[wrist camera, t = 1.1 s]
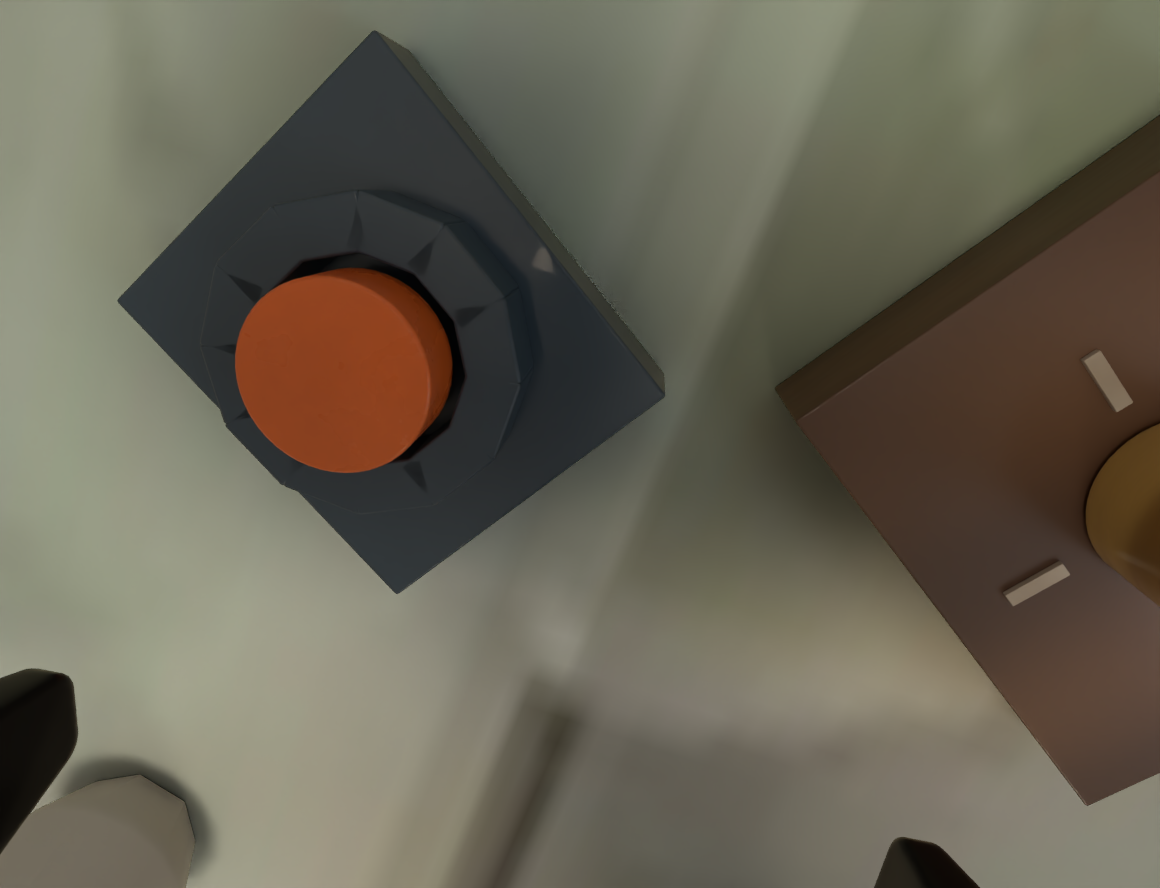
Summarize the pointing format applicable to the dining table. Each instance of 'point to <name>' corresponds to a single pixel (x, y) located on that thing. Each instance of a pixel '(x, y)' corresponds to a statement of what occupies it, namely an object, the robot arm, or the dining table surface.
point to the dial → (1129, 512)
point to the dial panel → (1020, 454)
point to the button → (343, 368)
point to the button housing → (438, 274)
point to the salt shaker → (103, 840)
